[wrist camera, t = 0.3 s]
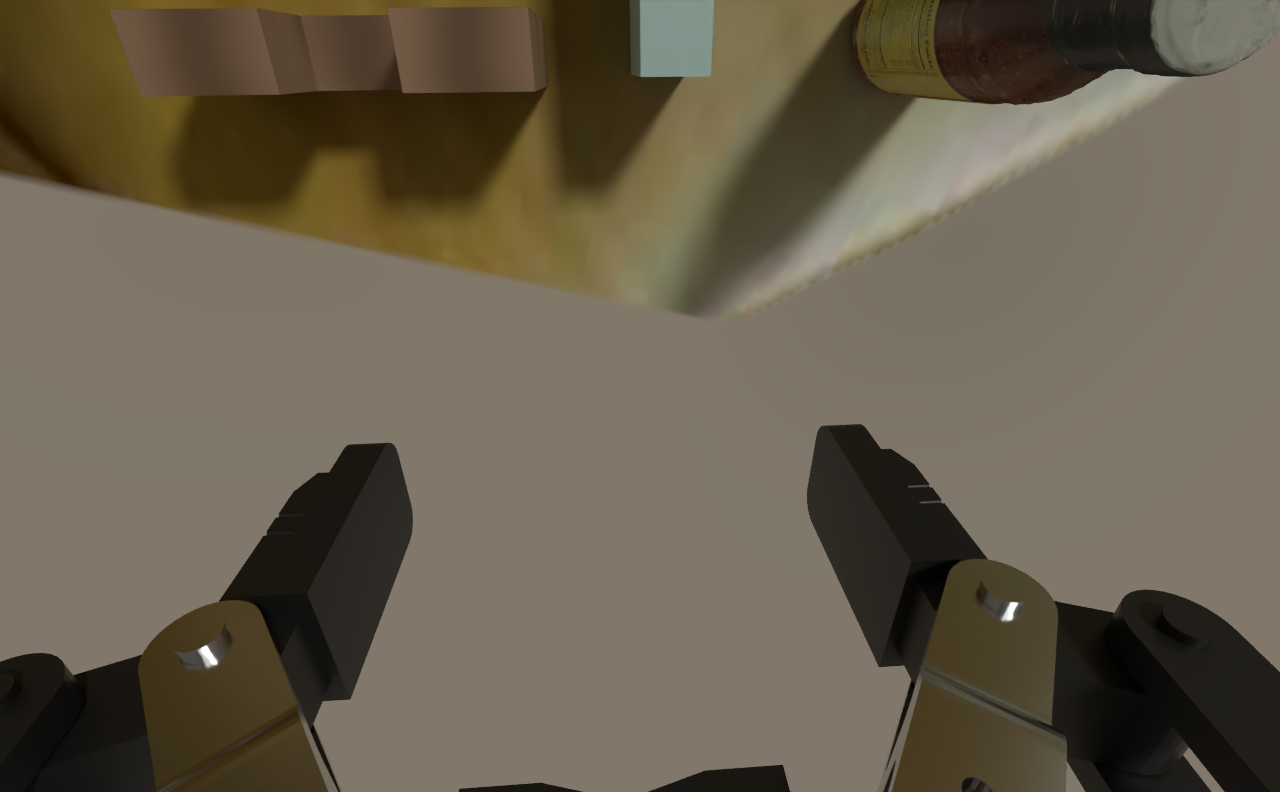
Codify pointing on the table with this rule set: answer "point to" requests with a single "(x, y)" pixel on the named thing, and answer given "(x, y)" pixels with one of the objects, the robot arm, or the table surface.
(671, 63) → the teal board
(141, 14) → the walnut u-shaped block
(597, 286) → the table surface
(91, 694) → the robot arm
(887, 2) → the sauce bottle
